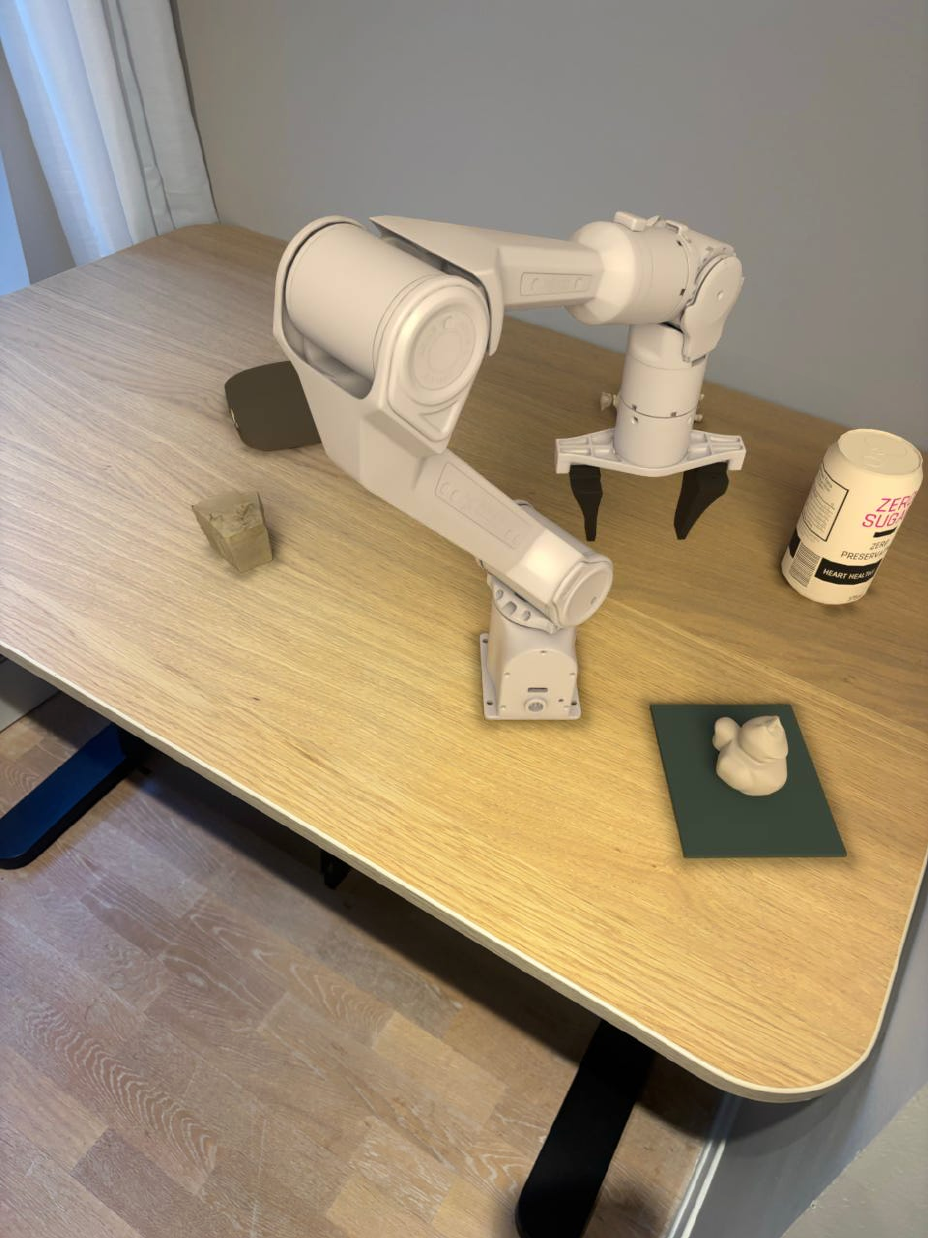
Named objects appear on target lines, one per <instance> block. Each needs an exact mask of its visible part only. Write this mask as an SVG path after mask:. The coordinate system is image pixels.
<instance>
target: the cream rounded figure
mask: <svg viewBox="0 0 928 1238" xmlns="http://www.w3.org/2000/svg"><path fill="white" fill-rule="evenodd" d="M712 741H713V745H714V746H715V748H716V749H717V750H718V751H720V754H719V756H718V761H717V766H716V773H717V775H718V776H719V777H720V778H721V779H722V780H723V781H725V782H726V783H727V784H728V785H729V786H730V787H732V788H733V789H736V790H739V791H740V792H742V793H743V794H746V795H751V796H761V795H769V794H771V793H774V792H776V791H778V790H779V789H780V788H782V787H783V785H784V784H785V782H786V779H787V764H786V756H787V754H788V745H787V740H786V735H785V731H784V728H783V727H782V725H781V723H780V720H779V717H778V716H762V717H757V718H754V719H751V720H749V721H748V722H746V723H745V724H744V725H743V726H742V728H740V726H739V725H738V724H737V723H736V722H735V721H733V720H732V719H731V718H728V717H723V718H720V719H718V720H717V721H716V723H715V734H714V736H713V740H712Z"/></svg>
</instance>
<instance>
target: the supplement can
mask: <svg viewBox="0 0 928 1238" xmlns="http://www.w3.org/2000/svg"><path fill="white" fill-rule="evenodd" d="M923 462H924V458H923V456H922V454H921V452H920V450H919V449H917V447H916V446H914V444H913V443H911V442H910V441H908V440H907V439H905V438H903V437H901V436H899V435H897V434H894V433H891V432H888V431H885V430H880V429H875V428H857V429H856V428H855V429H851V430H848V431H846V432H845V433H843V434H841V435H840V437H839V439H837V440H836V441H835V442H833V443H832V444H831V445H829V446H828V447H827V449H826V452H825V454H824V456H823V459H822V461H821V464H820V465H819V469H818V471H817V474H816V476H815V478H814V481H813V484H812V486H811V488H810V490H809V494H808V496H807V498H806V500H805V503H804V506H803V508H802V511H801V514H800V516H799V518H798V520H797V524H796V526H795V528H794V531H793V533H792V536H791V539H790V541H789V542H788V543H789V544H788V545H787V548H786V551H785V553H784V556H783V558H782V561H781V563H780V565H781V572H782V574H783V576H784V578H785V579H786V581H787V582H788V584H789V586H790V587H791V588H792V589H794V591H796V592H797V593H798V594H799V595H801V596H802V597H805V598H807V599H808V600H810V601H813V602H815V603H816V602H817V603H821V604H824V605H843V604H844V605H845V604H848V603H853V602H856V601H858V600H859V599H861V598H862V597H864V596H865V595H866V593H867V592H868V589H869V588H870V585H871V584H872V582H873V581H874V578H875V576H876V574H877V572H878V570H879V568H880V566H881V565H882V563H883V560H884V558H885V556H886V554H887V552H888V550H889V548H890V546H891V544H892V542H893V541H894V538H895V537H896V535H897V533H898V531H899V528H900V527H901V525H902V524H903V523H902V522H904V519H905V517H906V515H907V513H908V511H909V509H910V507H911V505H912V503H913V501H914V499H915V497H916V495H917V493H918V491H919V490H920V488H921V486H922V483H923V479H924V473H923Z"/></svg>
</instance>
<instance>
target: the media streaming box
mask: <svg viewBox="0 0 928 1238" xmlns="http://www.w3.org/2000/svg"><path fill="white" fill-rule="evenodd" d="M223 387H224V393H225V399H226V403H227V407H228V411H229V414H230V417H231V419H232V422H233V426H234V427H235V430H236V433H237V434H238V436H239V438H240V440H241V442H242V443H243V444H245V445H246V446H247V447H251V448H253V449H256V450H261V451H277V450H283V449H284V450H285V449H290V448H295V447H302V446H308V445H313V444H318V443H322V441H321V438H320V435H319V433H318V430H317V427H316V424H315V421H314V418H313V416H312V413H311V410H310V407H309V404H308V401H307V398H306V396H305V393H304V390H303V387H302V384H301V381H300V378H299V376H298V373H297V371H296V370H295V368H294V366H293V365H292V363H291V361H290V360H284V361H276V362H271V363H266V364H261V365H258V366H254V367H251V368H246V369H244V370H242V371H240V372H237V373H236V374H234V375H233V376H231V377H230V378H229V379H227V380H226V382H225V383H224V386H223Z"/></svg>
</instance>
